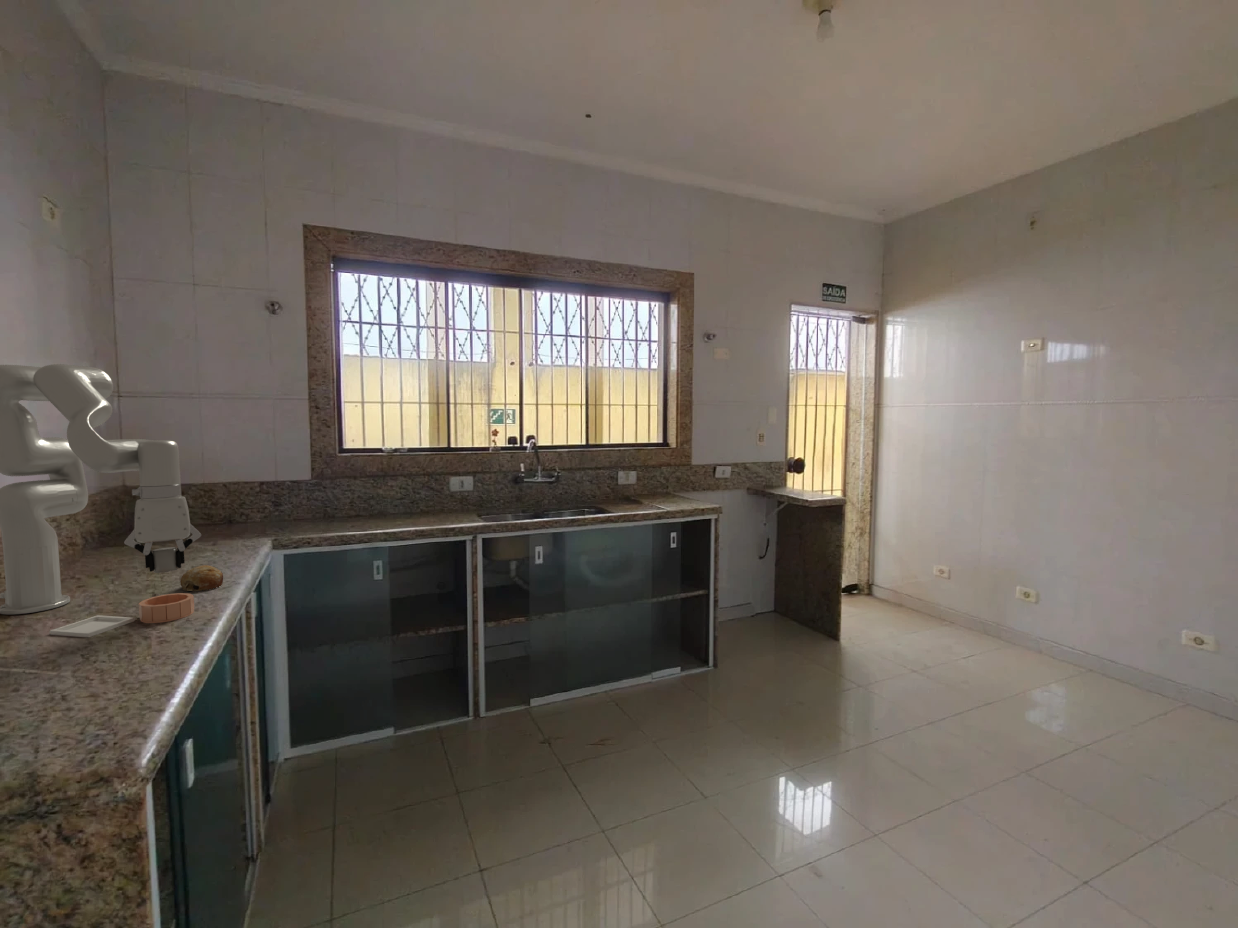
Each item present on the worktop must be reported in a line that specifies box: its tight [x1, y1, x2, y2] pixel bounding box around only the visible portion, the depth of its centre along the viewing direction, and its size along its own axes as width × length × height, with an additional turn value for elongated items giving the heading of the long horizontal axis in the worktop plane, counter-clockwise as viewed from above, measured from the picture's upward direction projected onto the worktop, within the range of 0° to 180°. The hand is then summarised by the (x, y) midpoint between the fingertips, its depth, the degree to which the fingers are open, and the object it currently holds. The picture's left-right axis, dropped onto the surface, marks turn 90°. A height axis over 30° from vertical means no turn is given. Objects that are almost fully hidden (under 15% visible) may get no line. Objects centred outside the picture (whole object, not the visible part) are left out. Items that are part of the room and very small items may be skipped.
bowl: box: [138, 592, 195, 624], centre depth 136 cm, size 10×10×4 cm
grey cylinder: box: [152, 546, 179, 574], centre depth 135 cm, size 4×4×5 cm
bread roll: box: [180, 564, 224, 592], centre depth 160 cm, size 10×10×8 cm
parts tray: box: [49, 614, 136, 638], centre depth 128 cm, size 10×10×1 cm
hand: (165, 567), depth 135 cm, fingers closed on grey cylinder, 4 cm apart
